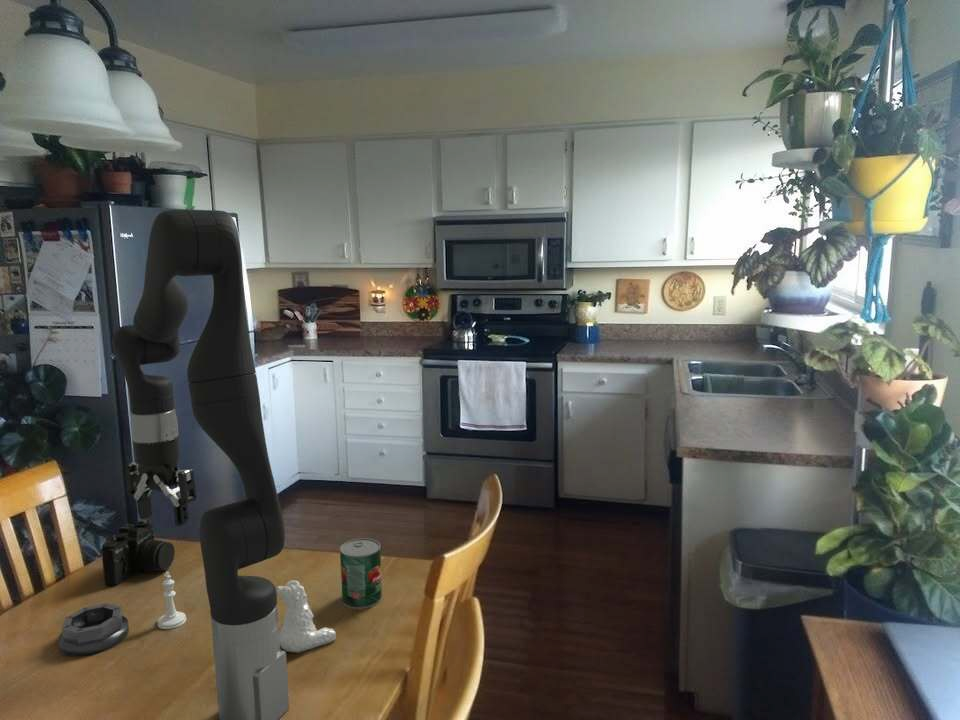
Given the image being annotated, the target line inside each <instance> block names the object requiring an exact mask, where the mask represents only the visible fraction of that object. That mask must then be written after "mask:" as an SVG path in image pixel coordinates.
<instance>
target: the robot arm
mask: <svg viewBox="0 0 960 720" xmlns="http://www.w3.org/2000/svg"><path fill="white" fill-rule="evenodd" d="M237 227H238V226H237V225H236V221H235V219H234V218H233V216H232V215H231V214H230V213H229V212H227V211H224V210H218V209H217V210H216V209H215V210H213V209H168V210H163V211H161V212H160V213H158V214H157V216H156V217H155V219H154V220H153V223H152V226H151V229H150V233H149V239H148V246H147V247H148V248H147V254H146V255H147V256H146V262H145V263H146V264H145V270H144V271H145V272H144V281H143V282H144V283H143V291H142V295H141V297H140V300H139V302H138V305H137V308H136V310H135V312H134V313H135V314H134V316H133V322H132V324H128V325H122V326H120V327H118V328H117V329H116V330H115V331H114V334H113V335H112V338H111V339H112V341H111V344H112V350H113V352H114V354H115V357H116V359H117V361H118V364H119V366H120V368H121V370H122V373H123V375H124V379H125V381H126V385H127V389H128V393H129V394H128V395H129V403H130V404H129V405H130V416H131V417H130V430H131V440H132V450H133V451H132V452H133V460H134V461H132V462H129V463H126V464H125V466H124V469H125V470H124V471H125V473H124V474H125V488H126V489H125V490H126V491H125V492H126V494H127V495H128V496H133V497H134V498H133V499H135V500H136V503H137V514H138V517H139V520H141V519H146V520H147V519H148V518H150V517H151V516H152V515H153V510H152V500H151V499H152V497H151V496H150V494H151V493H152V491H158V492H161V493H163V494H164V496H165V497H166V498H168V499H170V501H171V502H172V504H173V515H174V524H175V526H177V527H181V526H183V525H186V524H187V523H188V521H189V509H188V504H190V503H192V502H194V501H196V500H197V491H196V490H197V489H196V484H195V483H196V482H195V473H194V470H193V468H187V469H180V467H179V465H178V462H179V459H180V457H181V447H180V446H181V445H180V436H179V435H180V434H179V424H178V418H177V413H176V408H175V397H174V396H175V395H174V386H173V381H172V380H171V378H169V377H168V376H163V375H154V374H153V375H151V374H145V373H144V372H143V371H142V368H141V366H143V365H151V364H162V363H167V362H170V361H173V360H174V359H175V358H177V357H178V355H179V353H180V351H181V342H180V340H181V339H180V336H179V333H180V328H181V326H182V325H183V321H184V320H185V318H186V315H187V314H188V308H189V302H188V297H187V294H186V292H185V290H184V289H183V287H182V286H181V285H180V284H179V282H178V281H177V280H176V279H175V278H174V277H176V276H180V277H193V276H194V277H196V276H197V277H199V276H212V281H213V298H212V300H213V301H212V306H211V310H210V314H209V316H208V319H207V322H206V324H205V326H204V328H203V329H202V332H201V334H200V337H199V338H198V341H197V342H196V345H195V347H194V348H193V351H192V353H191V356H190V357H189V358H190V359H189V361H188V365H187V369H186V370H187V371H186V375H187V382H188V384H187V385H188V390H189V397H190V403H191V408H192V414H193V416H194V418H195V419H194V420H196V422H197V423H198V425H199V427H200V428H201V429H202V430H203V431H204V432H205V434H206V435H207V436H208V437H209V439H211V441H212V442H214V443H215V444H216V445H217V447H219V448H220V450H221V451H222V452H223V453H224V454H225V455H226V456H227V457H228V458H229V460H230V461H231V462H232V464H233V466H235V468H236V470H237V472H238V474H239V476H240V479H241V482H242V484H243V488H244V494H245V499H242V500H239V501H235V502H233V503H232V502H231V503H228V504H225V505H221V506H218V507H214V508H211V509H208V510H207V511H204V513H203V514H202V516H201V517H200V521H199V522H200V523H199V528H198V529H199V543H200V548H201V549H200V551H201V555H202V563H203V569H204V578H205V586H206V594H207V598H208V599H207V600H208V604H209V610H210V621H211V622H210V624H211V635H212V636H211V637H212V647H213V660H214V661H213V662H214V672H215V684H216V695H217V698H216V699H217V707H218V719H219V720H279V719H280V718H281V717H282V716H283V715H284V714H285V713H286V712H287V711H288V710H289V709H290V699H289V698H290V695H289V681H288V666H287V653H286V652H287V651H285V650H281V645H280V642H279V632H280V629H279V617H278V616H279V613H278V612H279V611H278V610H279V609H278V592H277V587H276V586H275V584H274V583H273V582H272V581H271V580H270V579H267V578H264V577H261V576H256V575H239V574H238V571H239V570H242V569H244V568H247V567H249V566H253V565H255V564H258V563H261V562H263V561H267V560H270V559H272V558H274V557H277V556H278V555H280V554H281V552H282V550H283V548H284V545H285V538H286V536H285V535H286V533H285V532H286V531H285V523H284V518H283V517H284V516H283V514H282V513H283V512H282V508H281V503H280V499H279V496H278V491H277V487H276V483H275V479H274V476H273V471H272V467H271V462H270V458H269V453H268V447H267V443H266V442H267V441H266V437H265V436H266V433H265V427H264V422H263V421H264V420H263V414H262V408H261V406H262V405H261V398H260V397H261V396H260V389H259V384H258V378H257V371H256V366H255V361H254V355H253V349H252V345H251V339H250V332H249V327H248V326H249V325H248V319H247V312H246V311H247V310H246V309H247V308H246V300H245V285H244V274H243V273H244V272H243V260H242V249H241V242H240V241H241V240H240V235H239V229H238V228H237ZM134 485H135V486H134ZM174 486H175V488H174ZM172 488H173V489H172Z"/></svg>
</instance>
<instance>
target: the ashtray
mask: <svg viewBox="0 0 960 720" xmlns="http://www.w3.org/2000/svg"><path fill="white" fill-rule="evenodd" d="M129 632H130V627H129V621H128V618H127V617H126V616H124V615H123V612H122V607H121V606H118V605H114V604H111V603H103V604H96V605H91V606H86V607H85V606H84V607H82V608H81V609H79V610H77V611H75V612H73V613H72V614H70V615H68V616H66V617H65V618H64V621H63V625H62V628H61V632H60V634H59V636H58V637H57V642H58V650H59V651H60V653H61V654H63V655H66V656H69V657H85V656H91V655H95V654H99V653H102V652H104V651H108V650H109V649H111V648H114V647H115V646H117V645H118V644H120V643H121V642H123V641H124V639H125V638H126V637H127V636H128V634H129Z"/></svg>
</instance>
